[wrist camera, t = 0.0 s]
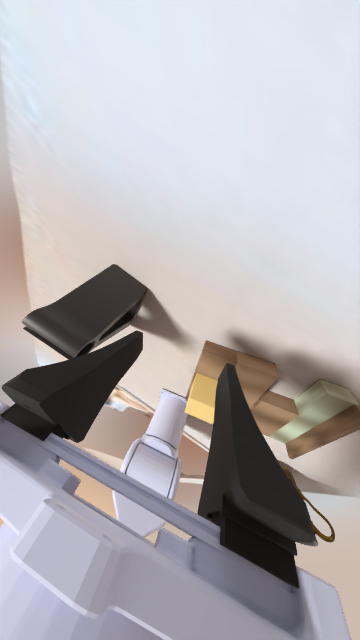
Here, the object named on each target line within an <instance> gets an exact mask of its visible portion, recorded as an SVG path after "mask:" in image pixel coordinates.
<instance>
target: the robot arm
mask: <svg viewBox="0 0 360 640" xmlns="http://www.w3.org/2000/svg"><path fill="white" fill-rule="evenodd" d="M142 350H143V333H142V332H139V331H135V332H133V333H131V334H129V335H127V336H125V337H123V338H121V339H120V340H118V341H116V342H114V343H112V344H109V345H107V346H105V347H103V348H101V349H98V350H96V351H93V352H91V353H88V354H85V355H82V356H79V357H76V358H73V359H70V360H66V361H63V362H59V363H55V364H51V365H46V366H41V367H37V368H31V369H26V370H25V371H23V372H22V373H20V374H19V375H17V376H16V377H14V378H13V379H11V380H10V381H8V382H7V383H5V384H4V385H3V386H2V389H3V391H4V392H5V393H6V394H7V395H8V396H9V397H10V398H11V399H12V400H13V401H14V402H15V404H14V405H13V406H11V407H9V406H8V405H6V404H5V403H3V402H1V401H0V518H1V519H2V520H3V521H4V523H3V524H2V526H1V527H0V640H351V637H350V634H349V630H348V627H347V624H346V619H345V616H344V612H343V609H342V605H341V602H340V598H339V594H338V591H337V590H336V588H335V587H334V586H333V585H331V584H329V583H327V582H326V581H324V580H322V579H320V578H318V577H317V576H315V575H313V574H311V573H309V572H308V571H306V570H304V569H301V568H299V567H297V566H296V565H295V560H294V555H296V556H297V550H296V544H295V542H306V543H312V542H314V541H315V535H314V531H313V527H312V523H311V519H310V515H309V512H308V509H307V506H306V503H305V502H304V500H303V499H302V497H301V496H300V494H299V493H298V491H297V490H296V488H295V487H294V486H293V484H292V483H291V481H290V480H289V478H288V477H287V475H286V474H285V472H284V470H283V469H282V467H281V466H280V464H279V462H278V461H277V459H276V458H275V456H274V454H273V452H272V451H271V449H270V447H269V445H268V444H267V442H266V440H265V439H264V437H263V435H262V433H261V431H260V429H259V427H258V425H257V423H256V421H255V419H254V417H253V415H252V413H251V410H250V408H249V406H248V403H247V401H246V398H245V396H244V393H243V390H242V388H241V385H240V382H239V378H238V375H237V372H236V368H235V366H234V365H232V364H229V363H226V364H225V366H224V368H223V370H222V372H221V374H220V376H219V378H218V382H217V387H216V396H215V410H214V424H213V431H212V438H211V444H210V450H209V456H208V461H207V467H206V472H205V477H204V482H203V487H202V492H201V498H200V502H199V508H198V514H196V513H194V512H192V511H190V510H188V509H187V508H185V507H183V506H181V505H180V504H178V503H176V502H174V498H175V495H176V491H177V487H178V483H179V479H180V474H181V469H182V463H181V460H180V458H179V457H178V453H179V452H178V448H179V445H180V440H181V437H182V433H183V429H184V426H185V422H186V419H187V417H188V415H189V414H187V413H185V408H186V405H187V402H186V401H185V400H186V398H183V397H181V396H179V395H176V394H174V393H171V392H169V391H167V390H164V389H161V393H160V399H159V404H158V407H157V409H156V411H155V413H154V416H153V418H152V420H151V423H150V425H149V427H148V429H147V432H146V434H143V437H142V439H141V438H138V439H136V440H135V441H134V442H133V444H132V445H131V447H130V449H129V450H128V453H127V455H126V457H125V459H124V461H123V464H122V466H121V469H120V471H119V470H117V469H115V468H114V467H112V466H110V465H108V464H107V463H105V462H103V461H101V460H99V459H98V458H96V457H94V456H92V455H90V454H89V453H87V452H85V451H83V450H81V449H80V448H78V447H76V446H74V445H73V444H71V443H69V442H67V441H65V440H64V439H63V437H64V438H65V439H70V440H72V441H74V442H76V443H78V442H80V441H82V440H84V438H85V436H86V434H87V432H88V431H89V429H90V427H91V425H92V424H93V422H94V420H95V418H96V417H97V415H98V413H99V412H100V410H101V408H102V407H103V405H104V403H105V402H106V400H107V399H108V397H109V395H110V394H111V392H112V391H113V389H114V388H115V386H116V385H117V384H118V382H119V381H120V380H121V378H122V377H123V376H124V375H125V373H126V372H127V371H128V370H129V368H130V367H131V366H132V365H133V363H134V362H135V361H136V359H137V358H138V356H139V355H140V353H141V351H142ZM59 458H60V459H62V460H64V461H65V462H67V463H69V464H70V465H72V466H74V467H76V468H77V469H79V470H80V471H82V472H84V473H86V474H87V475H89V476H91V477H92V478H94V479H96V480H97V481H99V482H101V483H102V484H104V485H106V486H107V487H109V488H111V489H113V495H112V496H113V502H114V507H115V511H116V516H117V520H116V519H114V518H113V517H111V516H110V515H108V514H106V513H105V512H103V511H102V510H100V509H98V508H97V507H95V506H93V505H92V504H90V503H89V502H87V501H86V500H84V499H82V498H80V497H79V496H77V495H76V494H74V493H75V490H76V489H77V487H78V485H79V484H80V482H81V480H80V479H79V478H77V477H76V476H74V475H73V474H72V473H71V472H70V471H68V470H66V469H65V468H63V467H62V466H60V465H59V462H60V459H59ZM166 521H167V522H168V523H170V524H172V525H174V526H175V527H177V528H178V529H180V530H182V531H184V532H185V533H187V534H189V535H190V536H192V537H191V538H190V539H189V540H188V542H187V541H186V540H184V539H182V538H180V537H179V536H177V535H175V534H173V533H171V532H170V531H168V530H166V529H164V528H163V529H160V528H162V527H163V526H164V525H165V523H166ZM157 530H159V532H158V536H157V540H156V543H155V544H154V543H152V542H150V541H149V540H147V539H146V538H145V537H146V536H148V535H149V534H151V533H153V532H155V531H157Z"/></svg>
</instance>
